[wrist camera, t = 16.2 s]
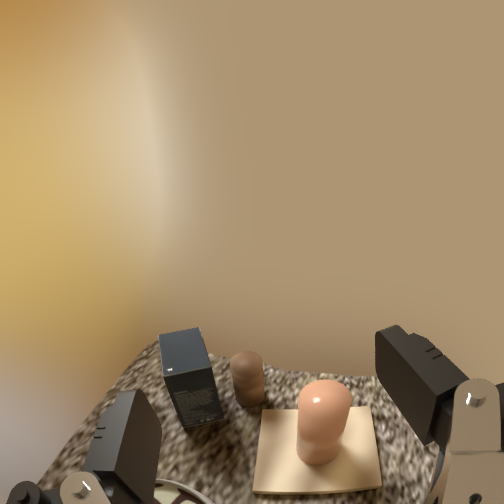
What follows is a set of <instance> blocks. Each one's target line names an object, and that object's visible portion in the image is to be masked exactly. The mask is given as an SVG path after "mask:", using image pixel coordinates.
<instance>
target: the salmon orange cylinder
mask: <svg viewBox="0 0 504 504" xmlns="http://www.w3.org/2000/svg"><path fill="white" fill-rule="evenodd" d="M351 403H352V397H351V393H350V391H349V390H348V389H347V388H346V387H345V386H344V385H343V384H341V383H339V382H337V381H333V380H318V381H314V382H312V383H310V384H308V385H306V386H305V387H304V388H303V389H302V391H301V392H300V394H299V399H298V423H297V444H296V451H297V455H298V457H299V458H300V459H301V460H302V461H303V462H305V463H307V464H309V465H315V466H319V465H324V464H327V463H329V462H331V461H332V460H333V459H334V458H335V457H336V456H337V454H338V452H339V448H340V445H341V441H342V438H343V434H344V430H345V427H346V423H347V419H348V415H349V411H350V407H351Z"/></svg>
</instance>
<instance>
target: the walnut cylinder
mask: <svg viewBox="0 0 504 504" xmlns="http://www.w3.org/2000/svg"><path fill="white" fill-rule="evenodd" d="M230 367H231V373H232V379H233V385H234V390H235V396H236V400H237V402H238V403H239V404H240V405H242V406H244V407H255V406H257V405H259V404H261V403H262V402H263V400H264V398H265V391H264V377H263V364H262V358H261V356H260V355H259V354H257V353H255V352H251V351H243V352H240V353H237V354H235V355H234V356H233V357H232V358H231V360H230Z"/></svg>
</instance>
